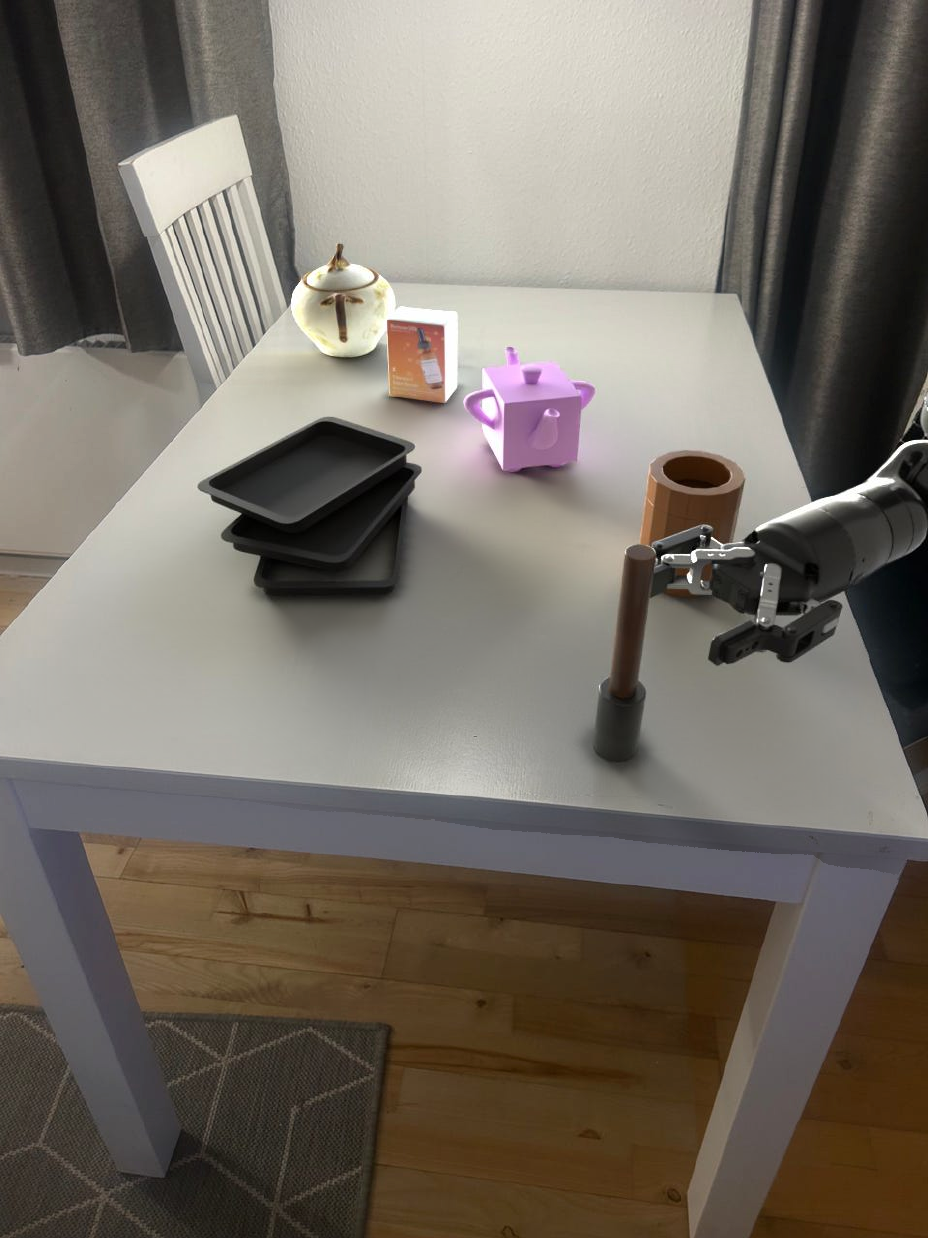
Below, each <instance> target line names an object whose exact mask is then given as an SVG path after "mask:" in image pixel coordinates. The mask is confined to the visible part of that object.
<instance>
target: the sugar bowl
mask: <svg viewBox="0 0 928 1238" xmlns="http://www.w3.org/2000/svg"><path fill="white" fill-rule="evenodd" d="M344 248H345V245H344V243H342V242H337V243H336V245H335V252H334V254H333V256H332V258H331V260H330V261H328V263H327V264H325V265H323V266H320V267H319V268H315V269H313V270H311V271H308V272H307V273H305V274H304V275H303V276H302V278H301V279H300V282H299V283H298V284H297V286H296V287H295V289H294V290H293V292H292V296H291V301H290V304H291V305H290V307H291V312H292V316H293V318H294V321H295V322H296V324H297V325H298V326H299V328H300V329H301V331H303V333H304V334H305V335H306V336H307V337H308V338H309V339H310V340H311V341H312V342H313V343H314V344H315V345H316V347H318V349H319V350H320V352H322V353H323V354H325V355H327V356H331V357H335V358H355V357H360V356H364V355H368V354H369V353H371V352H372V351H374V350H375V349H376V347H377V345H378V343H379V341H380V340H381V338H382V337H383V335H384V334H385V332H386V331H387V323H386V321H387V319H388V318H389V317H390V316H391V315H392V314H393V313H394V312H395V311H396V310H395V309H396V297H395V293H394V291H393V288H392V287H391V285H390V283H389V282H388V280H386V279H385V278H384V277H383V276H381V275H380V274H379V272H378V271H377V270H375V269H374V268H371V267H369V266H364V265H359V264H354V263H350V262H349V261H348V260H347V258H346V256H345V255H343V251H344Z"/></svg>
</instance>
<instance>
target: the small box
mask: <svg viewBox="0 0 928 1238" xmlns="http://www.w3.org/2000/svg"><path fill="white" fill-rule="evenodd" d="M386 323H387V329H386V342H387V366H388V368H387V369H388V389H389V392H388V393H389V394H388V395H389V397H395V398H405V399H412V400H419V401H425V402H431V403H432V402H434V403H442V404H446V403H447V401H448V400H449V399H450V398H451V396H452V395H453V394H454V392H455V391H456V390H457V388H458V312H457V311H446V310H434V309H426V308H425V309H423V308H417V307H415V308H414V307H408V306H403V305H401V306H399V307H398V308H396V310H394V313H393V314H392V315H391V316H390V317H389V318H388V319H387V321H386Z"/></svg>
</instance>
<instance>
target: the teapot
mask: <svg viewBox="0 0 928 1238" xmlns="http://www.w3.org/2000/svg"><path fill="white" fill-rule="evenodd" d="M505 355H506V361H507V364H506V365H498V366H487V367H483V368H482V377H481V378H482V389H480V390H476V391H473V392H471V393H469V394H467V395H466V396H465V397H464V399H463V405H464V409H465V410H466V411H467V412H468V413H469V415H470V416H471V417H472V418H474V419H475V420H477V421H478V422H479V423H481V425H482V426H481V430H482V432H483V434H484V436H485V439H486V440H487V442H488V444H489V446H490V448H491V451H492V452H493V454H494V457H495V458H496V459H497V461H498V464H499V466H500V467H501V469H502V471H506V472H509V473H516V472H519V471H520V470H522V468H531V467H541V466H542V467H543V466H549V467H552V468H560V467H563V466H564V465H565V464H569V463H576V462H577V463H578V458H579V445H580V444H579V443H580V431H581V430H580V428H581V416H582V411H583V410H584V409H585V408H586V407H587V406H588V405H589V404H590V403H591V401H592V399H593V398H594V397H595V394H596V388H595V386H594V384H593V383H590V382H588V381H583V380H570V379H569V377H568V376H567V375H566V373H565V372H564V371H563V370H562V368H561V367H560V365H559V364H558V363H557V362H556V361H555V360H553V361H552V360H551V361H541V362H540V361H539V362H530V363H520V362H521V361H520V359H519V355H518V352H517V350H516V349H515V348H514V347H512V346H508V347H506V348H505ZM579 391H580V392H579ZM481 401H482V402H481ZM480 402H481V403H482V405H481V406H482V407H480V405H479V403H480Z"/></svg>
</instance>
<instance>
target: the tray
mask: <svg viewBox="0 0 928 1238" xmlns="http://www.w3.org/2000/svg"><path fill="white" fill-rule="evenodd" d="M415 449H416V445H415V444H414V443H413V442H412V441H409V440H407V439H404V438H401V437H397V436H394V435H391V434H388V433H385V432H381V431H379V430H376V429H373V428H369V427H366V426H363V425H361V424H357V423H355V422H351V421H348V420H345V419H342V418H338V417H336V416H335V417H334V416H324V417H320V418H318V419H316V420H314V421H312V422H310V423H308V424H306V425H305V426H302V427H301V428H298V429H297V430H295V431H293V432H291V433H290V434H287V435H286V436H284V437H282V438H279V439H277V440H276V441H274V442H273V443H270V444H269V445H266V446H265V447H263V448H261V449H259V450H257V451H256V452H253V453H252V454H250V455H248V456H245V457H244V458H242V459H240V460H238V461H236V462H235V463H232V464H231V465H229V466H227V467H225V468H223V469H221V470H220V471H218V472H215V473H214V474H212V475H210V476H208V477H206V478H204V479H202V480H201V481H199V482H198V484H197V486H196V487H197V489H198V490H199V491H200V492H202V493H204V494H207V495H209V496H210V499H211V501H212V502H213V503H216V504H218V505H220V506H222V507H225V508H227V509H229V510H232V511H235V512H236V513H239V514H240V515H238V517H236V518H235V519H234V520H233V521H232V522H231V523H230V524H228V526H226V527H225V528H224V529H223V530H222V532H221V533H220V538H221V540H223V541H224V542H227V543H230V544H232V546H233V549H234V550H235V551H238V552H241V553H244V554H249V555H254V556H259V557H260V558H259V561H258V564H257V567H256V571H255V574H254V577H253V584H254V585H255V586H256V587H258V588H261V589H262V590H263V592H264V593H265V594H267V595H272V596H381V595H382V596H383V595H387V594H390V593H392V592H393V591H394V590H395V589H396V585H397V584H398V583H399V581H400V578H401V577H400V576H401V568H402V560H403V559H402V558H403V548H404V539H405V531H406V530H405V529H406V521H407V510H408V503H409V496H411V494H412V493H413V492H414V490H415V488H416V479H417V478H418V477H419V476H420V475H421V473H422V471H423V468H422V466H421V465H419V464H416V463H412V462H407V461H408V460H407V455H409V454H410V453H412V452H413V451H414V450H415ZM400 507H401V512H400V518H399V528H398V535H397V536H398V537H397V545H396V553H395V563H394V571H393V574H392V576H391V577H389V578H386V579H380V580H379V579H377V580H269V579H267V578H268V574H269V571H270V568H271V564H272V561H273V560H278V561H282V562H287V563H293V564H295V565H296V564H297V565H302V566H307V567H311V568H316V569H320V570H325V571H330V572H342V571H345V570H348V569H349V568H350V567H351V566H352V565H353V564H354V563H355V561H356V560H357V559H358V558H359V557H360V556H361V554H362V553H363V552H364V551H365V550H366V548H367V547H368V546H369V545H370V543H372V541H373V540H374V538H375V537H377V535H378V534H379V532H380V531H381V530H382V529H383V528H384V527H385V526H386V524H387V523H388V522H389V520H390V519H392V517H393V516H394V515H395V514H396V512H397V511H398V510H399V508H400Z"/></svg>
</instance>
